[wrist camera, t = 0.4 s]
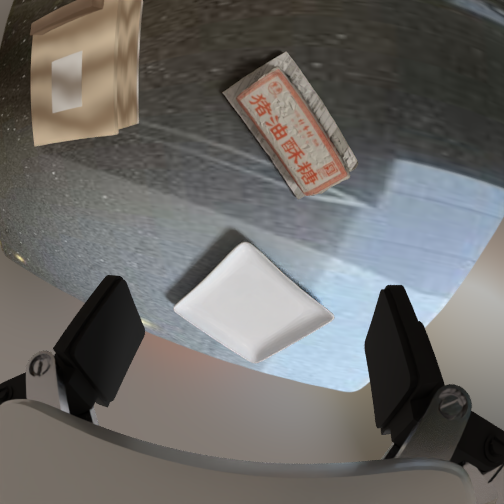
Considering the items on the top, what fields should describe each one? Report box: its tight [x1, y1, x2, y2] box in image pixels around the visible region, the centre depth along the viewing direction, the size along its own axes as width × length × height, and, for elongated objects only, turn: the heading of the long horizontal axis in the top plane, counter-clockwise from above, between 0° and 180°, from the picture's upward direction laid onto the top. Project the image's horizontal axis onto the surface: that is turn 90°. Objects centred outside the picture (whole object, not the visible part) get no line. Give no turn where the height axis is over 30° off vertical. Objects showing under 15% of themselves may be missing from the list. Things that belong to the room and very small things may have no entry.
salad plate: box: [173, 242, 334, 363], centre depth 49 cm, size 21×21×3 cm
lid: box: [30, 0, 122, 146], centre depth 24 cm, size 21×17×3 cm
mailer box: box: [117, 0, 143, 129], centre depth 28 cm, size 20×16×6 cm
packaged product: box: [223, 52, 358, 199], centre depth 32 cm, size 18×5×10 cm
